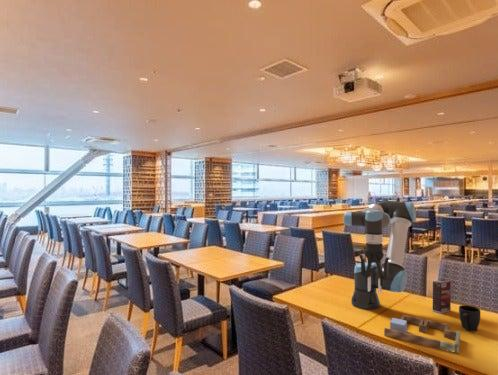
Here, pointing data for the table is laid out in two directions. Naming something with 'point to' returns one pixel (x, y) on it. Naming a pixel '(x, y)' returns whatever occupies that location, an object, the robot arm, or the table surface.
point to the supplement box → (441, 296)
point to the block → (398, 325)
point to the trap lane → (423, 328)
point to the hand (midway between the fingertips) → (374, 291)
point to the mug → (469, 317)
